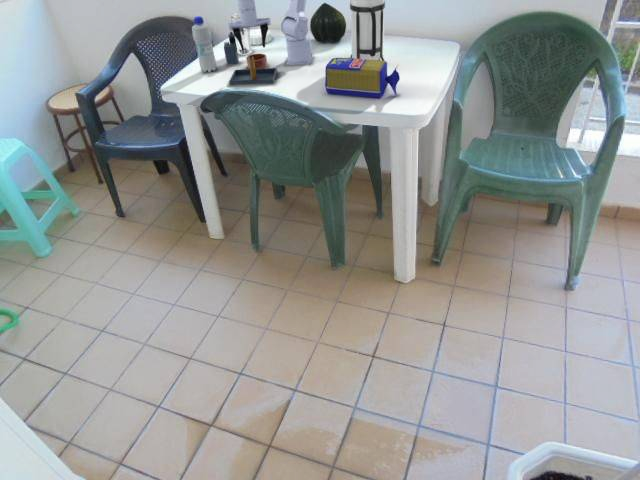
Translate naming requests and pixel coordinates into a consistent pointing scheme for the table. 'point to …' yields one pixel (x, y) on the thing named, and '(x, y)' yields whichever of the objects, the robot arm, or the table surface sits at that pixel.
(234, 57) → the vaping device
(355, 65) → the bread
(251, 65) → the marker
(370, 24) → the coffee press
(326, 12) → the squash
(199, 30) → the bottle
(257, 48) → the table surface
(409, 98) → the table surface
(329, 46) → the table surface
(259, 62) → the pen cup
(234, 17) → the beer glass
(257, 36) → the mooncake
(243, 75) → the tray
